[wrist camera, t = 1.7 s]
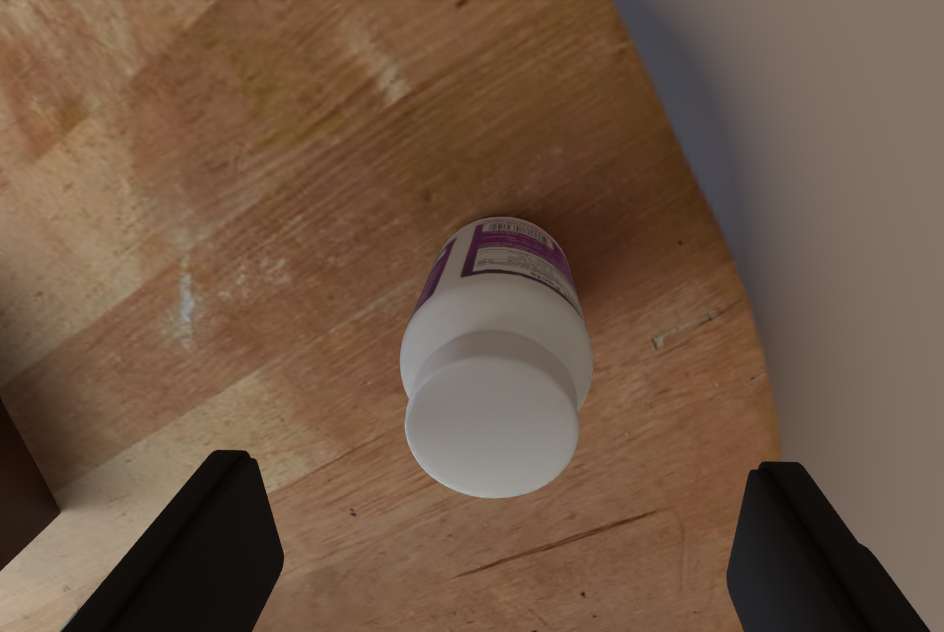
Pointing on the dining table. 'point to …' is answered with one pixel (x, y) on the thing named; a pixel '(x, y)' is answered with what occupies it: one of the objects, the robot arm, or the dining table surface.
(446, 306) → the pill bottle
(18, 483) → the brown open box
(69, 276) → the dining table surface
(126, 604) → the robot arm
